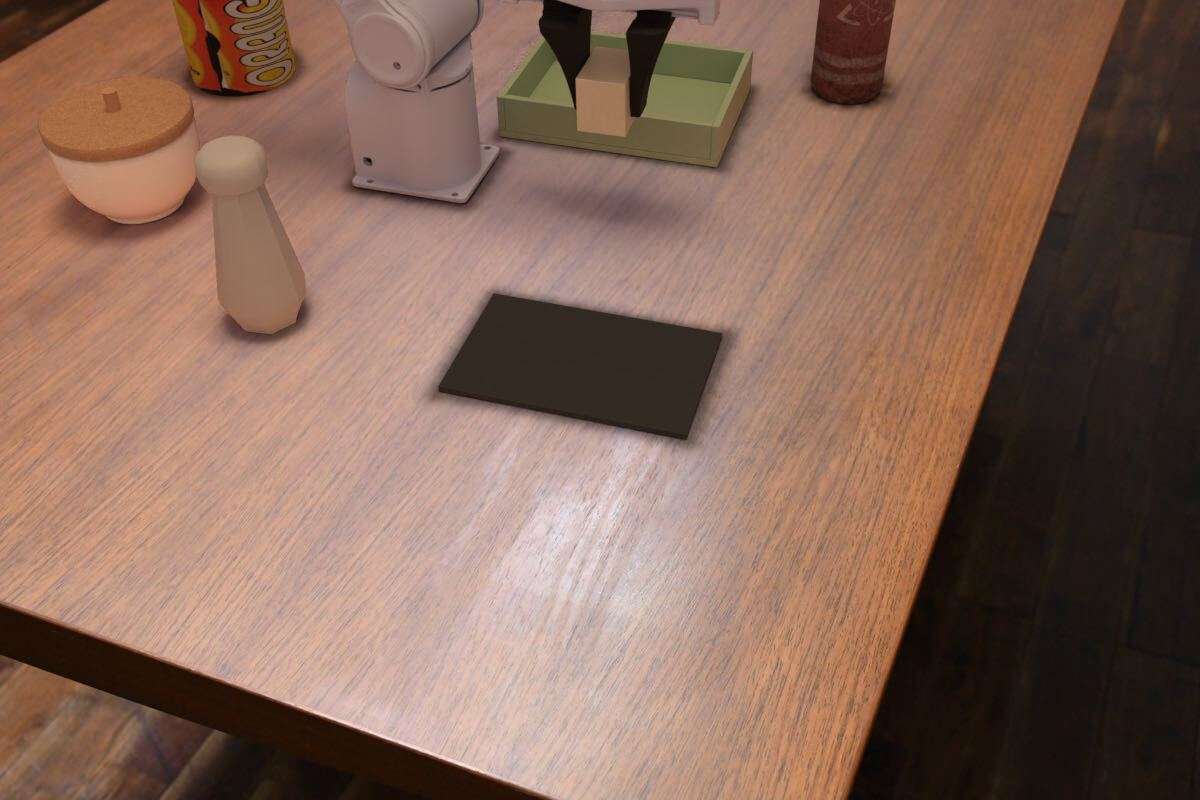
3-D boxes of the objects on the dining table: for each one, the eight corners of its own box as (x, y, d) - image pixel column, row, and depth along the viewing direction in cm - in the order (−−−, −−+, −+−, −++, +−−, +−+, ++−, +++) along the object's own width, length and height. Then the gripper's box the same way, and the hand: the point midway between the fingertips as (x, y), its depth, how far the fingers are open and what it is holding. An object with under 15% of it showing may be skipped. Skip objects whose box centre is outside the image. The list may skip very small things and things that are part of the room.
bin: (499, 136, 99) (496, 96, 97) (550, 63, 108) (548, 25, 106) (716, 167, 95) (719, 127, 93) (750, 89, 104) (753, 50, 102)
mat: (438, 391, 76) (437, 386, 76) (493, 297, 83) (493, 292, 83) (686, 439, 73) (686, 434, 72) (722, 337, 80) (722, 332, 79)
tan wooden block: (576, 131, 85) (575, 78, 82) (596, 97, 88) (595, 45, 85) (625, 137, 84) (625, 84, 81) (643, 103, 87) (643, 51, 85)
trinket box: (177, 249, 88) (142, 134, 82) (43, 234, 90) (-2, 121, 83) (238, 171, 96) (210, 61, 89) (114, 159, 97) (78, 50, 91)
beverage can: (174, 91, 106) (137, -45, 98) (220, 44, 112) (188, -87, 104) (270, 100, 104) (240, -37, 96) (311, 53, 111) (286, -79, 102)
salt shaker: (237, 353, 79) (189, 182, 70) (215, 305, 83) (166, 137, 74) (323, 325, 81) (286, 156, 72) (298, 280, 85) (260, 114, 76)
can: (893, 81, 105) (920, -82, 96) (864, 112, 101) (889, -54, 92) (829, 64, 108) (849, -96, 98) (798, 94, 104) (815, -70, 94)
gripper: (734, -101, 78) (723, 92, 87) (520, -120, 81) (531, 68, 90) (711, -59, 73) (702, 141, 82) (483, -80, 76) (499, 115, 85)
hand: (610, 106), depth 85 cm, fingers closed on tan wooden block, 3 cm apart
